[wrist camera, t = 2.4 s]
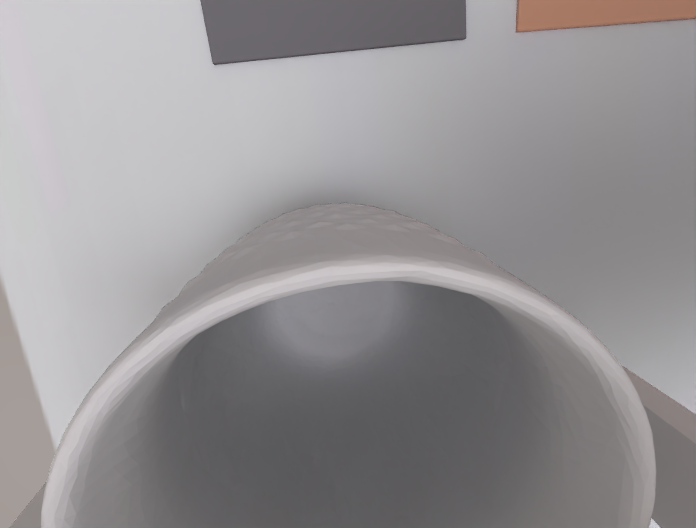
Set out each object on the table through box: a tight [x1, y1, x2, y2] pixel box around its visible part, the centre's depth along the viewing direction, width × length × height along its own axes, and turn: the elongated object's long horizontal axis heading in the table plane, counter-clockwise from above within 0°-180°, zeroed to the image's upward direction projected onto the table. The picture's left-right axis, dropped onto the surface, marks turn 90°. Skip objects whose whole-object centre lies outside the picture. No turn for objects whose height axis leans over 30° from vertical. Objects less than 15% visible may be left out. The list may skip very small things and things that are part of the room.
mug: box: [41, 203, 656, 528], centre depth 13 cm, size 15×11×13 cm
